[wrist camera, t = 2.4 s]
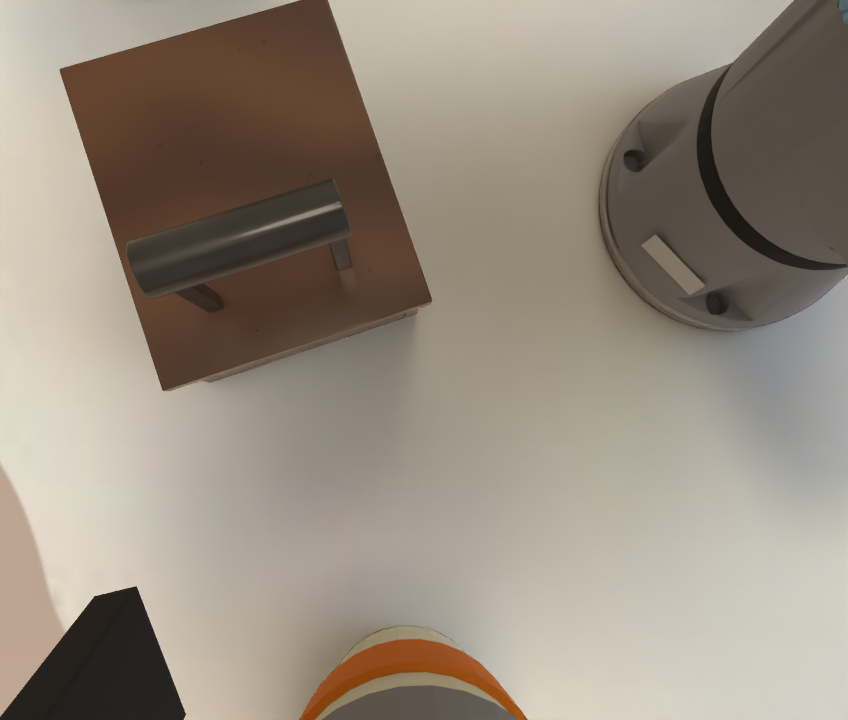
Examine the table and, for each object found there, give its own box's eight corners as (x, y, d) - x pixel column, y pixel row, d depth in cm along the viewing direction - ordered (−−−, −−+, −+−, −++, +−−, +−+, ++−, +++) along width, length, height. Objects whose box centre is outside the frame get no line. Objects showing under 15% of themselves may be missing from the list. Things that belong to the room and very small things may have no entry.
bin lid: (431, 304, 30) (452, 256, 21) (168, 391, 29) (68, 383, 20) (326, 3, 31) (302, -170, 22) (67, 77, 30) (-74, -71, 21)
